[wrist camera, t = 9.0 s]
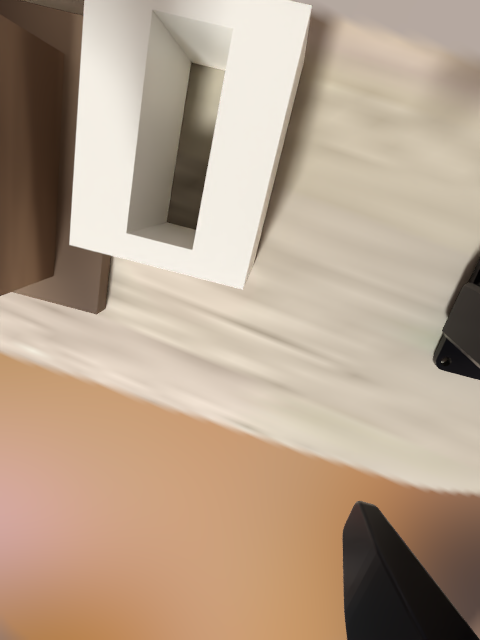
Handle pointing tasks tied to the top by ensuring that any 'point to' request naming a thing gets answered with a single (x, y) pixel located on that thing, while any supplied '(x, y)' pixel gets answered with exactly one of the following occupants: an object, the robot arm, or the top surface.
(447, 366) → the robot arm
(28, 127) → the channel mount plate
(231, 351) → the top surface
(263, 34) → the holder
